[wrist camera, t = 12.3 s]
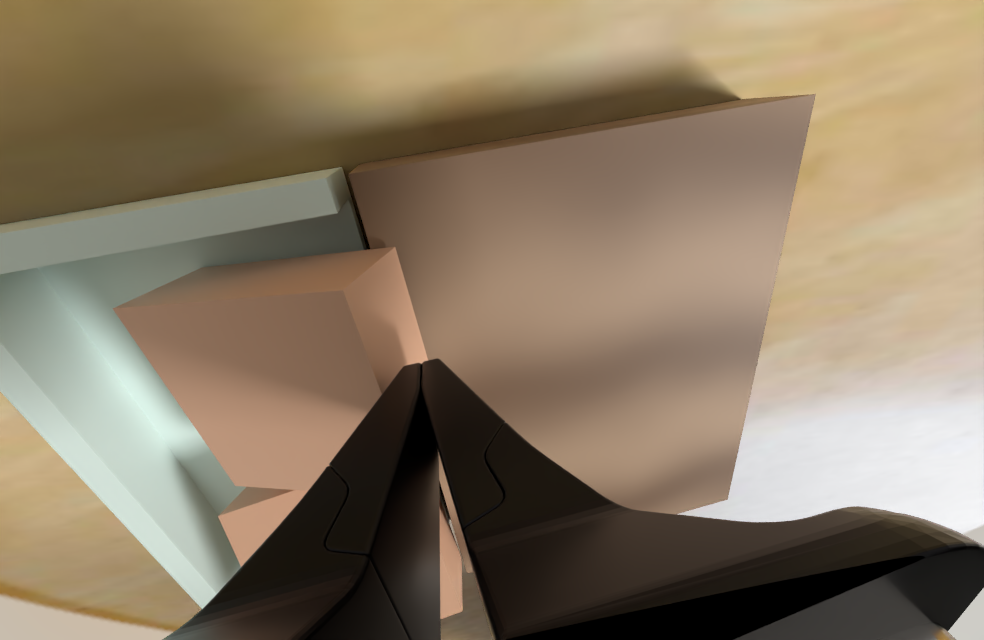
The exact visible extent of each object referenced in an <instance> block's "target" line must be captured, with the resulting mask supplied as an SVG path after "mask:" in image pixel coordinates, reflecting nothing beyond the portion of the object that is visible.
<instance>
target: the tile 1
mask: <svg viewBox="0 0 984 640" xmlns="http://www.w3.org/2000/svg"><path fill="white" fill-rule="evenodd" d="M113 310H114V312H115V313H116V314H117V316H118V317H119V319H120V320H121V322H122V323H123V325H124V326H125V327H126V329H127V330H128V332H129V333H130V335H131V336H132V338H133V339H134V340H135V342H136V343H137V345H138V346H139V348H140V349H141V351H142V352H143V353H144V355H145V356H146V358H147V359H148V361H149V362H150V363H151V365H152V366H153V368H154V369H155V371H156V372H157V374H158V375H159V376H160V378H161V379H162V381H163V382H164V384H165V385H166V387H167V388H168V389H169V391H170V392H171V394H172V395H173V397H174V398H175V400H176V401H177V402H178V404H179V405H180V407H181V408H182V410H183V411H184V413H185V414H186V415H187V417H188V418H189V420H190V421H191V423H192V424H193V426H194V427H195V428H196V430H197V431H198V433H199V434H200V436H201V437H202V439H203V440H204V441H205V443H206V444H207V446H208V447H209V449H210V450H211V452H212V453H213V454H214V456H215V457H216V459H217V460H218V462H219V463H220V465H221V466H222V467H223V469H224V470H225V472H226V473H227V475H228V476H229V478H230V479H231V480H232V482H233V483H234V485H235V486H243V487H259V488H274V489H290V490H305V491H308V490H309V489H310V488H311V486H312V485H313V484H314V483H315V481H316V480H317V479H318V478H319V476H320V475H321V474H322V472H323V471H324V470H325V468H326V467H327V466H329V463H330V462H331V461H332V459H333V458H334V457H335V455H336V454H337V453H338V451H339V450H340V449H341V448H342V446H343V445H344V444H345V442H346V441H347V440H348V438H349V437H350V436H351V434H352V433H353V432H354V430H355V429H356V428H357V426H358V425H359V424H360V423H361V421H362V420H363V419H364V417H365V416H366V415H367V413H368V412H369V411H370V409H371V408H372V407H373V405H374V404H375V403H376V401H377V400H378V399H379V397H380V396H381V395H382V394H383V392H384V391H385V390H386V388H387V387H388V386H389V384H390V383H391V382H392V380H393V379H394V378H395V376H396V375H397V374H398V372H399V371H400V370H401V369H402V367H403V366H405V365H409V364H414V363H421V364H422V363H423V362H424V361H427V360H428V358H427V355H426V351H425V348H424V344H423V341H422V337H421V334H420V331H419V327H418V324H417V320H416V317H415V313H414V310H413V306H412V303H411V300H410V296H409V293H408V289H407V286H406V282H405V279H404V275H403V272H402V269H401V265H400V262H399V258H398V255H397V251H396V248H395V247H388V248H379V249H369V250H360V251H351V252H341V253H332V254H323V255H313V256H304V257H295V258H285V259H276V260H267V261H257V262H248V263H239V264H229V265H220V266H211V267H202V268H200V269H198V270H195V271H193V272H191V273H189V274H187V275H184V276H182V277H180V278H178V279H176V280H174V281H171V282H169V283H167V284H165V285H163V286H161V287H158V288H156V289H154V290H152V291H150V292H147V293H145V294H143V295H141V296H139V297H137V298H134V299H132V300H130V301H128V302H126V303H124V304H121V305H119V306H117V307H115V308H113ZM438 453H439V452H438Z"/></svg>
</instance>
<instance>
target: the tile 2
mask: <svg viewBox="0 0 984 640" xmlns="http://www.w3.org/2000/svg"><path fill="white" fill-rule="evenodd" d="M306 493H307V491H305V490H290V489H274V488H259V487H246V488H245V489H244V490H243V491H242V492H241V493H240V494H239V495H238V496H237V497H236V498H235V499H234V500H233V501H232V502H231V503H230V504H229V505H228V506H227V507H226V508H225V509H224V510H223V511H222V513H221V514H220V515H219V516H218V518H219V520H220V522H221V524H222V526H223V529H224V531H225V533H226V535H227V537H228V539H229V542H230V544H231V546H232V548H233V550H234V553H235V555H236V557H237V559H238V561H239V563H240V566H241V567H242V566H243V564H244V563H245V562H246V561H247V560H248V559H249V558H250V557H251V556H252V554H253V553H254V552H255V551H256V550H257V549H258V548H259V547H260V546H261V545H262V543H263V542H264V541H265V540H266V539H267V538H268V537H269V536H270V535H271V534H272V532H273V531H274V530H275V529H276V528H277V527H278V526H279V525H280V523H281V522H282V521H283V520H284V519H285V518H286V517H287V515H288V514H289V513H290V512H291V511H292V510H293V508H294V507H295V506H296V505H297V504H298V503H299V501H300V500H301V499H302V498H303V496H304V495H305V494H306ZM439 507H440V619H443V618H446V617H448V616H451V615H454V614H457V613H459V612H462V611H463V605H462V558H461V555H460V553H459V550H458V547H457V544H456V542H455V539H454V536H453V533H452V530H451V528H450V525H449V522H448V519H447V517H446V514H445V511H444V508H443V506H442V503H441V500H440V497H439Z"/></svg>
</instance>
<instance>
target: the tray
mask: <svg viewBox="0 0 984 640" xmlns="http://www.w3.org/2000/svg"><path fill="white" fill-rule="evenodd" d="M360 250H367V248H366V245H365V241H364V238H363V235H362V231H361V228H360V225H359V222H358V218H357V215H356V212H355V208H354V205H353V202H352V198H351V195H350V192H349V188H348V185H347V182H346V179H345V175H344V172H343V169H342V167H338V168H332V169H326V170H320V171H314V172H308V173H303V174H297V175H291V176H285V177H279V178H273V179H267V180H261V181H255V182H249V183H243V184H237V185H231V186H225V187H220V188H214V189H208V190H202V191H196V192H190V193H184V194H178V195H172V196H166V197H160V198H154V199H148V200H142V201H137V202H131V203H125V204H119V205H113V206H107V207H101V208H95V209H89V210H83V211H77V212H71V213H65V214H59V215H54V216H48V217H42V218H36V219H30V220H24V221H18V222H12V223H6V224H0V392H1V393H2V394H3V395H4V396H5V397H6V398H7V399H8V400H9V401H10V402H11V403H12V404H13V406H14V407H15V408H16V409H17V410H18V411H19V412H20V413H21V414H22V415H23V416H24V417H25V419H26V420H27V421H28V422H29V423H30V424H31V425H32V426H33V427H34V428H35V429H36V430H37V431H38V433H39V434H40V435H41V436H42V437H43V438H44V439H45V440H46V441H47V442H48V443H49V444H50V446H51V447H52V448H53V449H54V450H55V451H56V452H57V453H58V454H59V455H60V456H61V457H62V458H63V460H64V461H65V462H66V463H67V464H68V465H69V466H70V467H71V468H72V469H73V470H74V471H75V473H76V474H77V475H78V476H79V477H80V478H81V479H82V480H83V481H84V482H85V483H86V484H87V485H88V487H89V488H90V489H91V490H92V491H93V492H94V493H95V494H96V495H97V496H98V497H99V498H100V500H101V501H102V502H103V503H104V504H105V505H106V506H107V507H108V508H109V509H110V510H111V511H112V512H113V514H114V515H115V516H116V517H117V518H118V519H119V520H120V521H121V522H122V523H123V524H124V525H125V526H126V528H127V529H128V530H129V531H130V532H131V533H132V534H133V535H134V536H135V537H136V538H137V539H138V541H139V542H140V543H141V544H142V545H143V546H144V547H145V548H146V549H147V550H148V551H149V552H150V553H151V555H152V556H153V557H154V558H155V559H156V560H157V561H158V562H159V563H160V564H161V565H162V566H163V568H164V569H165V570H166V571H167V572H168V573H169V574H170V575H171V576H172V577H173V578H174V579H175V580H176V582H177V583H178V584H179V585H180V586H181V587H182V588H183V589H184V590H185V591H186V592H187V593H188V595H189V596H190V597H191V598H192V599H193V600H194V601H195V602H196V603H197V604H198V605H199V606H200V607H201V609H203V608H204V607H205V606H206V605H207V604H208V603H209V602H210V601H211V599H212V598H213V597H214V596H215V595H216V594H217V593H218V592H219V591H220V590H221V589H222V588H223V587H224V585H225V584H226V583H227V582H228V581H229V580H230V579H231V578H232V577H233V575H234V574H235V573H236V572H237V571H238V570H239V569H240V568H241V566H240V563H239V561H238V559H237V557H236V555H235V553H234V550H233V548H232V546H231V544H230V542H229V539H228V537H227V535H226V533H225V531H224V529H223V526H222V524H221V522H220V520H219V518H218V516H219V515H220V514H221V513H222V511H223V510H224V509H225V508H226V507H227V506H228V505H229V504H230V503H231V502H232V501H233V500H234V499H235V498H236V497H237V496H238V495H239V494H240V493H241V492H242V491H243V490H244V489H245V488H246V487H243V486H235V485H234V483H233V482H232V480H231V479H230V478H229V476H228V475H227V473H226V472H225V470H224V469H223V467H222V466H221V465H220V463H219V462H218V460H217V459H216V457H215V456H214V454H213V453H212V452H211V450H210V449H209V447H208V446H207V444H206V443H205V441H204V440H203V439H202V437H201V436H200V434H199V433H198V431H197V430H196V428H195V427H194V426H193V424H192V423H191V421H190V420H189V418H188V417H187V415H186V414H185V413H184V411H183V410H182V408H181V407H180V405H179V404H178V402H177V401H176V400H175V398H174V397H173V395H172V394H171V392H170V391H169V389H168V388H167V387H166V385H165V384H164V382H163V381H162V379H161V378H160V376H159V375H158V374H157V372H156V371H155V369H154V368H153V366H152V365H151V363H150V362H149V361H148V359H147V358H146V356H145V355H144V353H143V352H142V351H141V349H140V348H139V346H138V345H137V343H136V342H135V340H134V339H133V338H132V336H131V335H130V333H129V332H128V330H127V329H126V327H125V326H124V325H123V323H122V322H121V320H120V319H119V317H118V316H117V314H116V313H115V312H114V310H113V308H115V307H117V306H119V305H121V304H124V303H126V302H128V301H130V300H132V299H134V298H137V297H139V296H141V295H143V294H145V293H147V292H150V291H152V290H154V289H156V288H158V287H161V286H163V285H165V284H167V283H169V282H171V281H174V280H176V279H178V278H180V277H182V276H184V275H187V274H189V273H191V272H193V271H195V270H198V269H200V268H202V267H211V266H220V265H229V264H239V263H248V262H257V261H267V260H276V259H285V258H295V257H304V256H313V255H323V254H332V253H341V252H351V251H360ZM439 497H440V500H441V503H442V506H443V508H444V511H445V514H446V517H447V519H448V516H447V513H446V509H445V506H444V503H443V500H442V496H441V493H440V490H439ZM448 522H449V519H448ZM449 525H450V523H449Z"/></svg>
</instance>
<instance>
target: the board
mask: <svg viewBox="0 0 984 640" xmlns="http://www.w3.org/2000/svg"><path fill="white" fill-rule="evenodd" d="M815 95H816V94H813V95H798V96H783V97H768V98H753V99H741V100H735V101H729V102H723V103H718V104H712V105H706V106H700V107H694V108H688V109H682V110H676V111H670V112H664V113H658V114H652V115H646V116H640V117H635V118H629V119H623V120H617V121H611V122H605V123H599V124H593V125H587V126H581V127H575V128H569V129H563V130H557V131H552V132H546V133H540V134H534V135H528V136H522V137H516V138H510V139H504V140H498V141H492V142H486V143H480V144H474V145H469V146H463V147H457V148H451V149H445V150H439V151H433V152H427V153H421V154H415V155H409V156H403V157H397V158H391V159H386V160H380V161H374V162H368V163H362V164H359V165H358V166H357V167H356V168H355V169H353V170H352V171H351V172H350V173H349V174H348V175H349V178H350V182H351V185H352V188H353V192H354V195H355V199H356V202H357V205H358V209H359V212H360V215H361V219H362V222H363V225H364V229H365V232H366V235H367V239H368V242H369V246H370V249H379V248H388V247H395V248H396V251H397V255H398V258H399V262H400V265H401V269H402V272H403V275H404V279H405V282H406V286H407V289H408V293H409V296H410V300H411V303H412V306H413V310H414V313H415V317H416V320H417V324H418V327H419V331H420V334H421V337H422V341H423V344H424V348H425V351H426V355H427V358H428V360H432V359H436V358H439V359H440V360H442V361H443V362H444V363H445V364H446V365H447V366H448V367H449V368H450V369H451V370H452V371H453V372H454V373H455V374H456V375H457V376H458V377H459V378H460V379H462V380H463V381H464V382H465V383H466V384H467V385H468V386H469V387H470V388H471V389H472V390H473V391H474V392H475V393H476V394H477V395H478V396H479V397H480V398H481V399H482V400H484V401H485V402H486V403H487V404H488V405H489V406H490V407H491V408H492V409H493V410H494V411H495V412H496V413H497V414H498V415H499V416H500V417H501V418H502V419H503V420H505V422H506V423H508V424H509V425H510V426H511V427H512V428H513V429H514V430H515V431H516V432H517V433H518V434H520V435H521V436H522V437H523V438H524V439H525V440H526V441H528V442H529V443H530V444H531V445H532V446H534V447H535V448H536V449H538V450H539V451H540V452H542V453H543V454H544V455H546V456H547V457H548V458H550V459H551V460H553V461H554V462H555V463H557V464H558V465H560V466H561V467H563V468H564V469H565V470H567V471H568V472H570V473H571V474H573V475H574V476H575V477H577V478H578V479H580V480H581V481H583V482H584V483H585V484H587V485H588V486H590V487H591V488H593V489H594V490H595V491H597V492H598V493H600V494H601V495H603V496H604V497H606V498H608V499H609V500H611V501H613V502H615V503H617V504H619V505H622V506H624V507H627V508H630V509H634V510H641V511H650V512H659V513H668V514H678V513H682V512H685V511H689V510H692V509H696V508H699V507H703V506H706V505H710V504H713V503H717V502H720V501H724V500H727V499H728V495H729V490H730V485H731V481H732V476H733V472H734V467H735V462H736V458H737V453H738V449H739V444H740V440H741V435H742V430H743V426H744V421H745V417H746V412H747V407H748V403H749V398H750V394H751V389H752V384H753V380H754V375H755V371H756V366H757V361H758V357H759V352H760V348H761V343H762V338H763V334H764V329H765V325H766V320H767V316H768V311H769V306H770V302H771V297H772V293H773V288H774V283H775V279H776V274H777V270H778V265H779V260H780V256H781V251H782V247H783V242H784V237H785V233H786V228H787V224H788V219H789V214H790V210H791V205H792V201H793V196H794V191H795V187H796V182H797V178H798V173H799V169H800V164H801V159H802V155H803V150H804V146H805V141H806V136H807V132H808V127H809V123H810V118H811V113H812V109H813V104H814V100H815ZM439 481H440V484H441V488H442V491H443V494H444V498H445V501H446V504H447V508H448V511H449V514H450V518H451V521H452V525H453V528H454V531H455V535H456V538H457V541H458V545H459V548H460V551H461V555H462V558H463V562H464V565H465V568H466V572H467V573H471V572H473V570H472V566H471V563H470V559H469V556H468V552H467V549H466V546H465V542H464V539H463V535H462V532H461V528H460V525H459V521H458V518H457V514H456V511H455V507H454V504H453V500H452V497H451V494H450V490H449V487H448V483H447V480H446V476H445V473H444V469H443V466H442V462H441V459H440V455H439Z"/></svg>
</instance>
